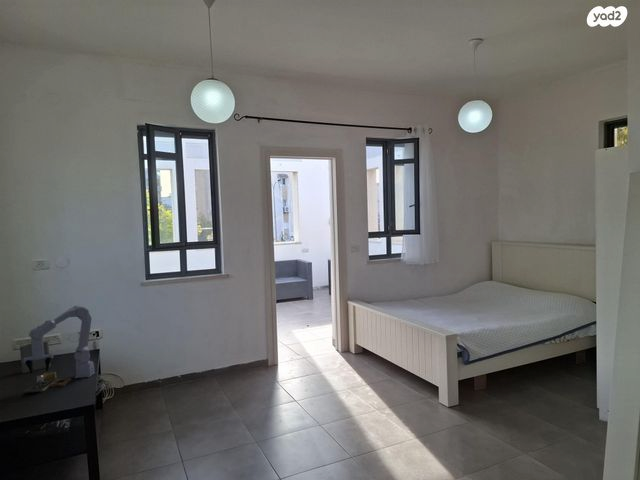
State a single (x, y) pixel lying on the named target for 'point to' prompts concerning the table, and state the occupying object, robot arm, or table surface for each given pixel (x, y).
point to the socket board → (44, 387)
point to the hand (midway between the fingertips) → (39, 371)
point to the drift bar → (47, 380)
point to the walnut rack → (60, 382)
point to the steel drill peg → (40, 380)
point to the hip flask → (27, 352)
